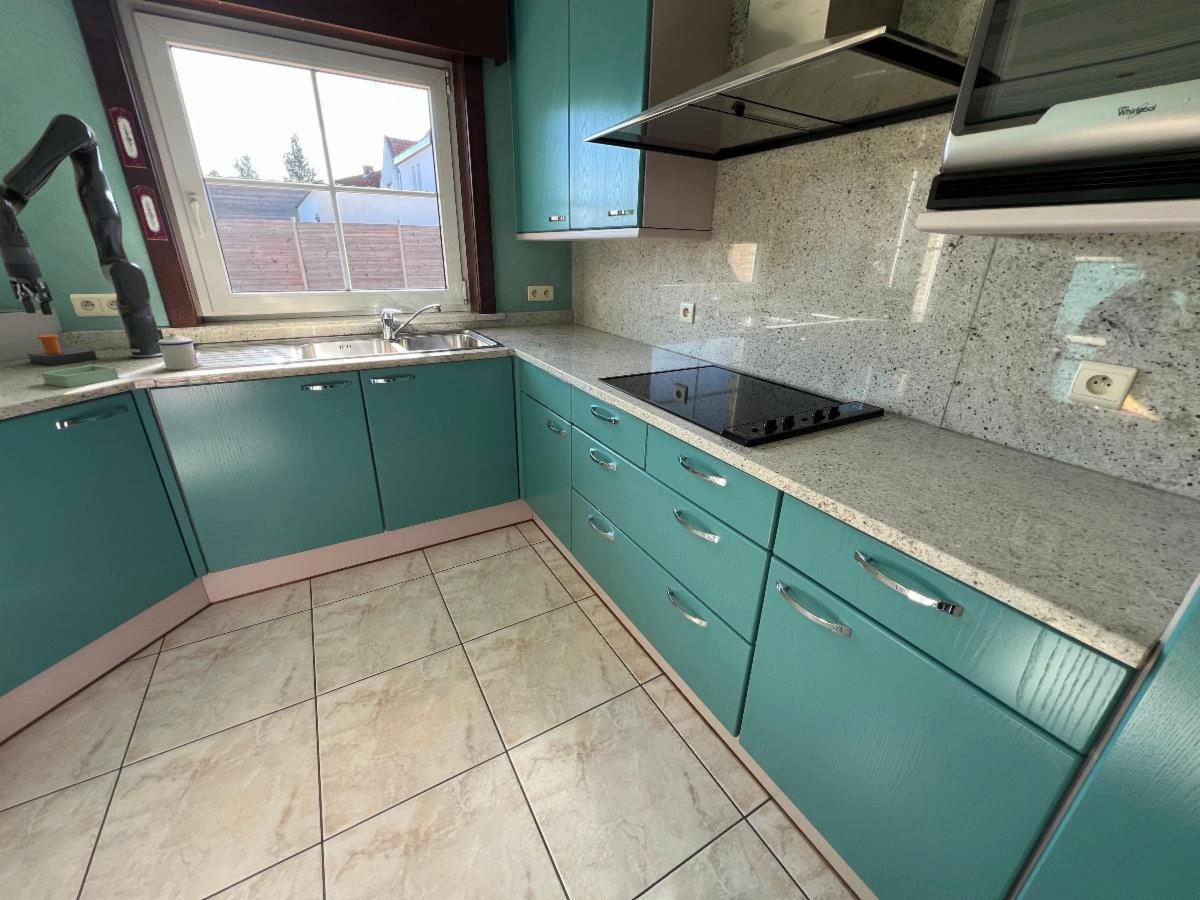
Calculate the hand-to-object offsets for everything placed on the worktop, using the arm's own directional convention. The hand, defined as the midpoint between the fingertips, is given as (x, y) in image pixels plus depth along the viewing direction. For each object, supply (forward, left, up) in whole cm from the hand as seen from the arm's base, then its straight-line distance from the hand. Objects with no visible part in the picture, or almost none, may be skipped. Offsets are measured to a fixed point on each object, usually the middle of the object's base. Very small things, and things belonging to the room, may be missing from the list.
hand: (39, 313), depth 162 cm
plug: (0, 0, -16) cm, 16 cm away
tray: (+13, +38, -16) cm, 43 cm away
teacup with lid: (-11, +43, -16) cm, 47 cm away
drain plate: (-2, 0, -16) cm, 16 cm away
